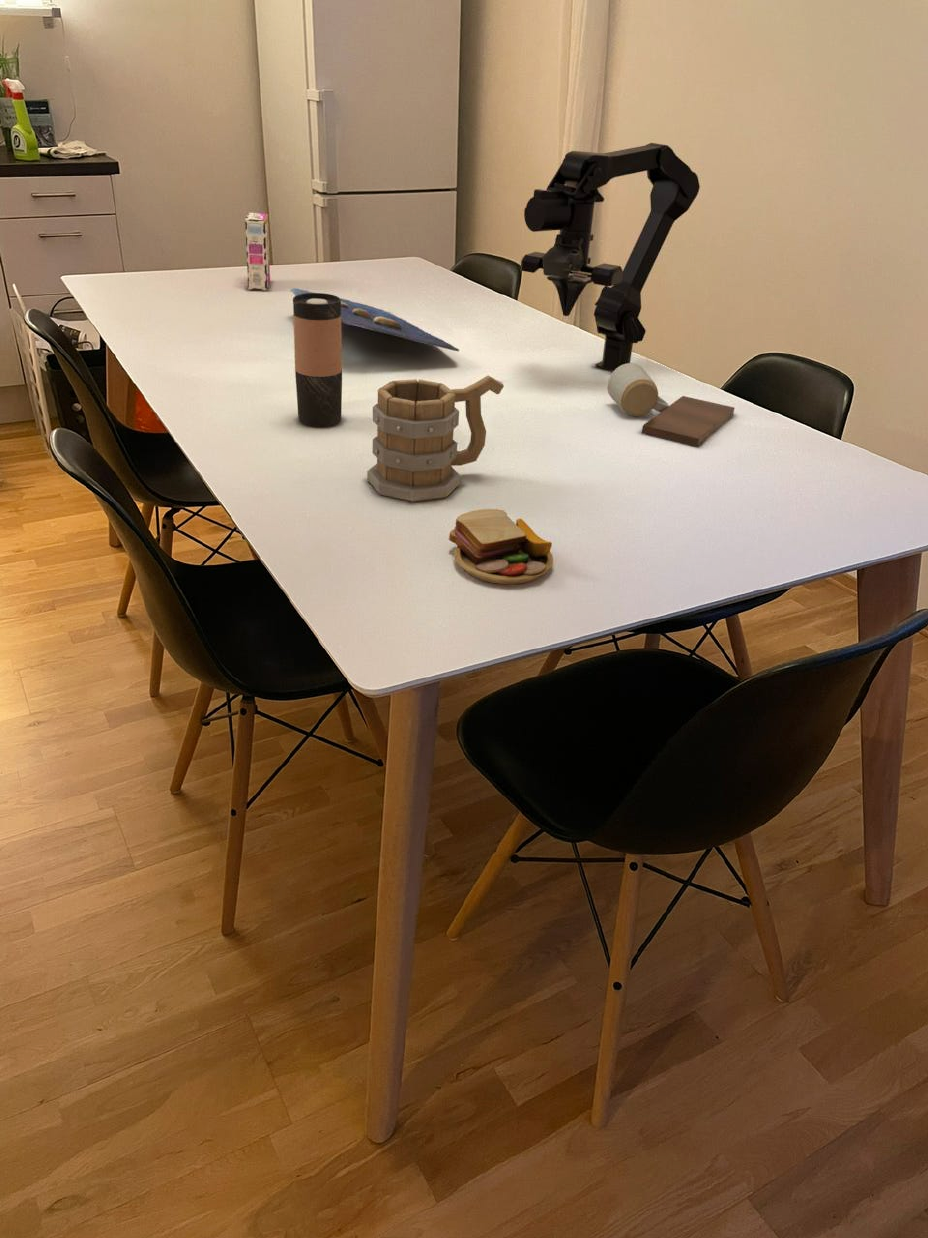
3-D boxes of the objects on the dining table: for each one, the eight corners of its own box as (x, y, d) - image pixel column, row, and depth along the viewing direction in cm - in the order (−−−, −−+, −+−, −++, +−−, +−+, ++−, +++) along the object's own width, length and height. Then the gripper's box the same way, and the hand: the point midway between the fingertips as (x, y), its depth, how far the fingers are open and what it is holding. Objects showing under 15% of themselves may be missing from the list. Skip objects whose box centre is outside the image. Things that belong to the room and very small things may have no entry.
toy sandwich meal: (479, 595, 114) (481, 559, 111) (435, 545, 124) (436, 512, 121) (570, 578, 118) (574, 544, 116) (521, 532, 129) (524, 500, 126)
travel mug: (350, 416, 163) (349, 296, 152) (330, 431, 156) (328, 306, 146) (309, 409, 165) (306, 290, 154) (288, 423, 158) (283, 300, 148)
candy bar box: (268, 291, 235) (265, 220, 226) (247, 290, 234) (243, 219, 225) (271, 281, 244) (268, 212, 235) (251, 280, 243) (247, 211, 235)
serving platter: (269, 327, 215) (279, 275, 211) (379, 353, 229) (391, 305, 225) (331, 374, 180) (345, 313, 176) (457, 401, 193) (473, 345, 189)
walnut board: (681, 403, 179) (682, 395, 178) (733, 415, 175) (734, 407, 174) (641, 433, 164) (642, 424, 163) (697, 446, 160) (698, 438, 159)
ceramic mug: (618, 418, 169) (625, 376, 165) (604, 403, 176) (610, 361, 172) (674, 418, 172) (682, 376, 168) (657, 403, 178) (665, 362, 174)
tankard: (387, 505, 133) (389, 401, 125) (359, 471, 143) (359, 372, 135) (515, 489, 141) (524, 390, 133) (480, 457, 150) (486, 363, 143)
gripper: (509, 226, 172) (503, 314, 180) (604, 241, 164) (593, 333, 172) (538, 219, 180) (530, 304, 188) (629, 233, 172) (617, 321, 181)
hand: (566, 315), depth 182 cm, fingers closed
